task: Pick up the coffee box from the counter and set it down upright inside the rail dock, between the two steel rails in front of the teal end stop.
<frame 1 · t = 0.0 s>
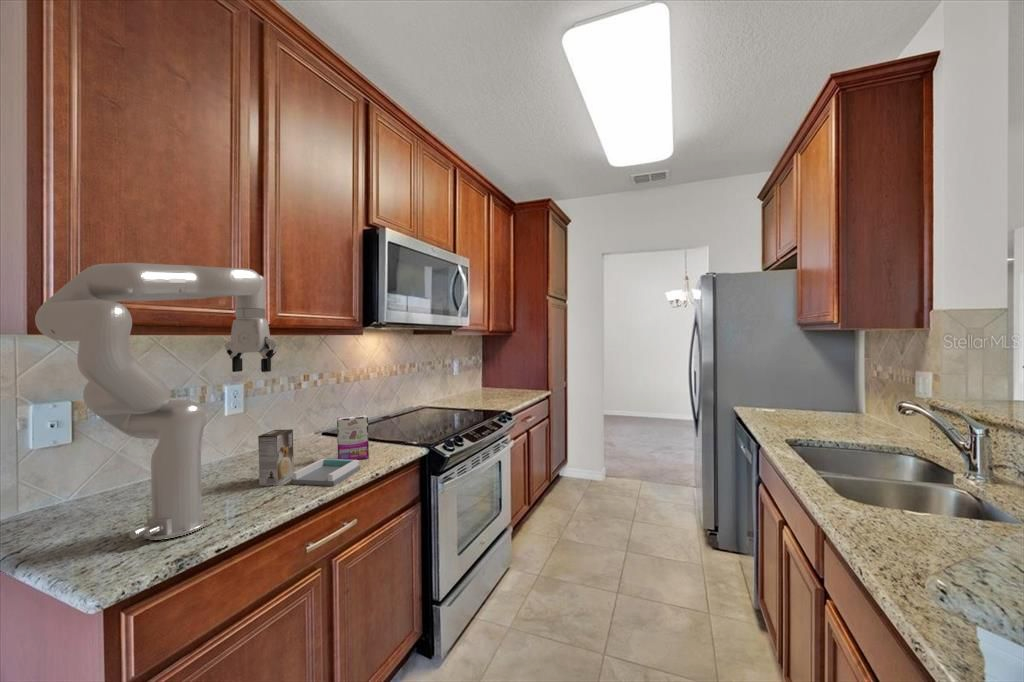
hand: (251, 371, 123), 37 cm above the countertop, tool pointing down, fingers open, 9 cm apart
coffee box: (277, 481, 134), on the countertop
rail dock: (327, 476, 137), on the countertop
candy bar box: (353, 459, 158), on the countertop
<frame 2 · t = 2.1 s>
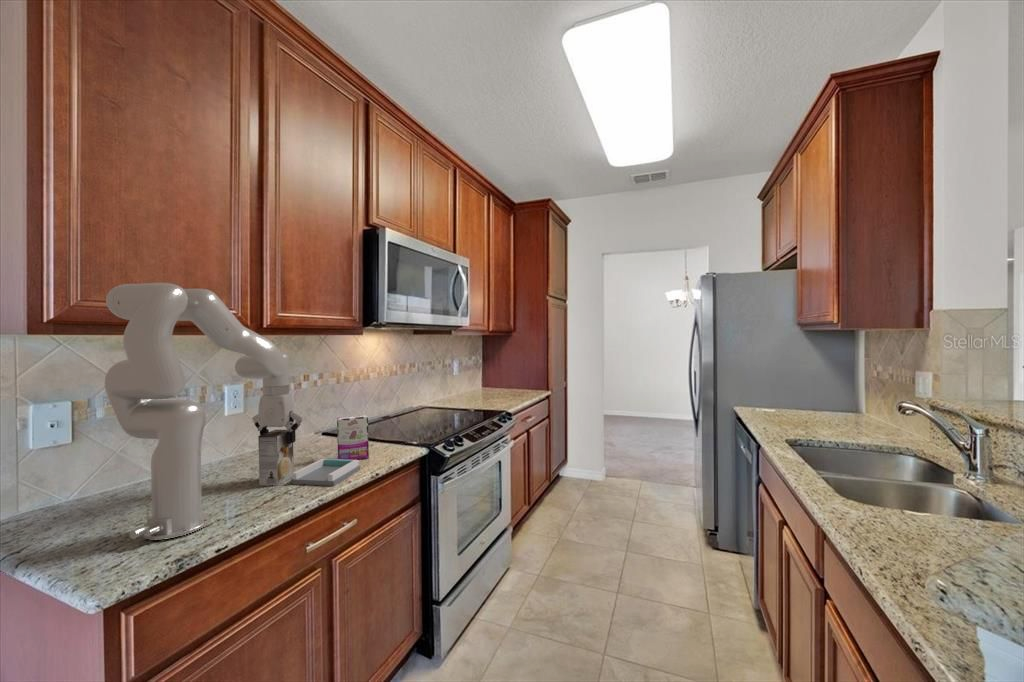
hand: (277, 442, 134), 12 cm above the countertop, tool pointing down, fingers open, 9 cm apart
nothing on the countertop moved.
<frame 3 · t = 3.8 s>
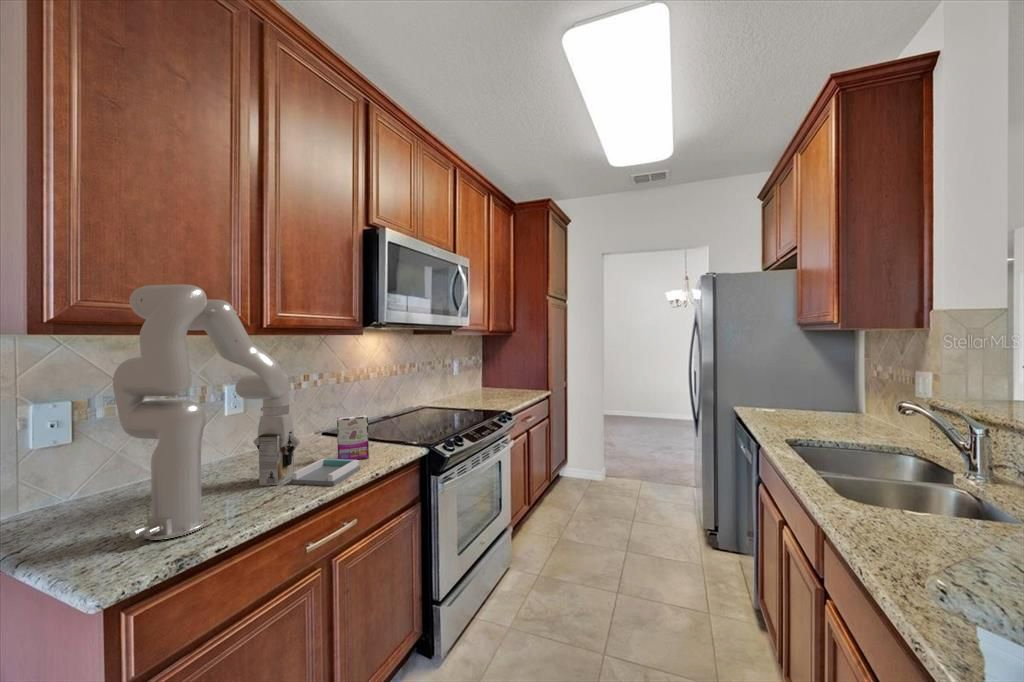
hand: (276, 464, 134), 5 cm above the countertop, tool pointing down, fingers closed on coffee box, 6 cm apart
coffee box: (277, 481, 134), on the countertop, touching gripper
everything else where it was.
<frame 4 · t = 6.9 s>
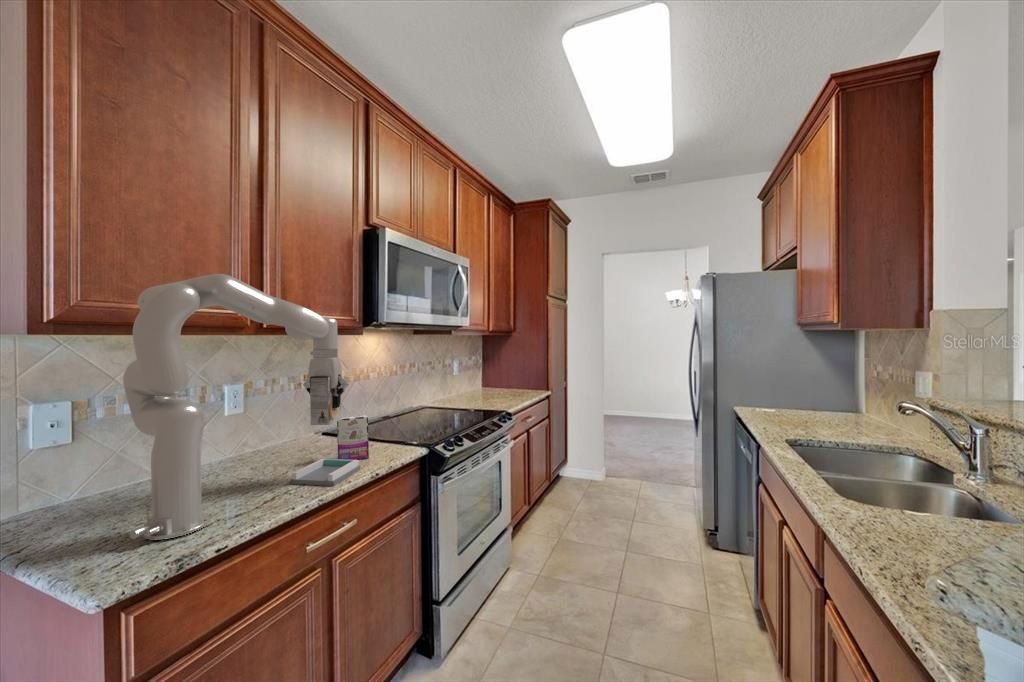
hand: (325, 407, 137), 24 cm above the countertop, tool pointing down, fingers closed on coffee box, 6 cm apart
coffee box: (326, 423, 137), point 18 cm above the countertop, touching gripper
everything else where it was.
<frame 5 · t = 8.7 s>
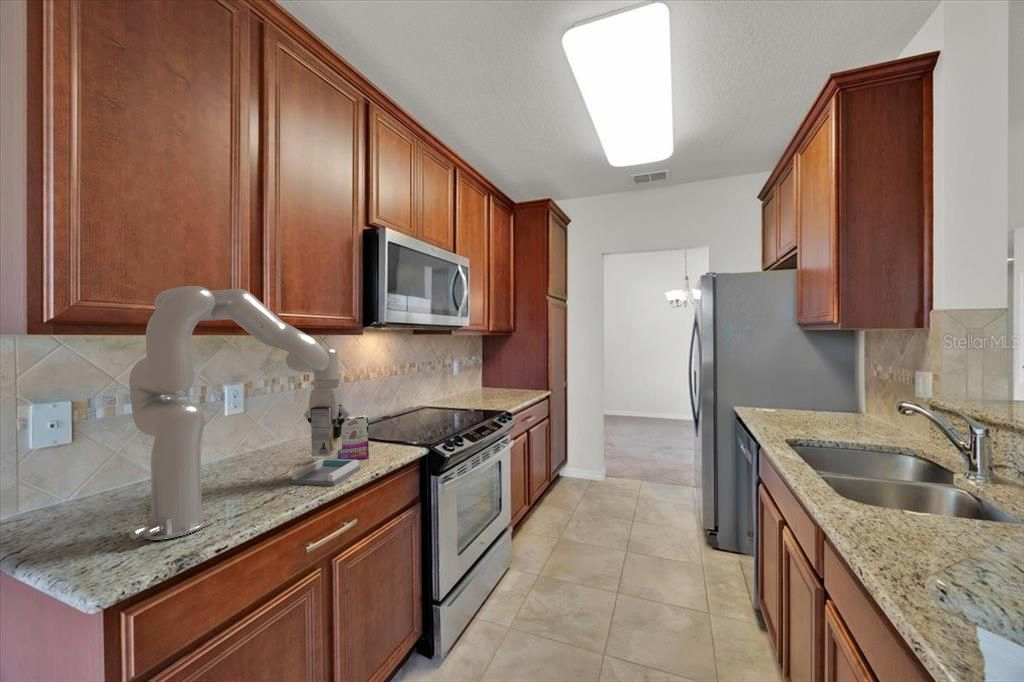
hand: (326, 437, 137), 13 cm above the countertop, tool pointing down, fingers closed on coffee box, 6 cm apart
coffee box: (327, 453, 138), point 8 cm above the countertop, touching gripper
everything else where it was.
when the fingers open (9 cm above the countertop, at t = 10.2 s): coffee box drops 2 cm, resting on rail dock.
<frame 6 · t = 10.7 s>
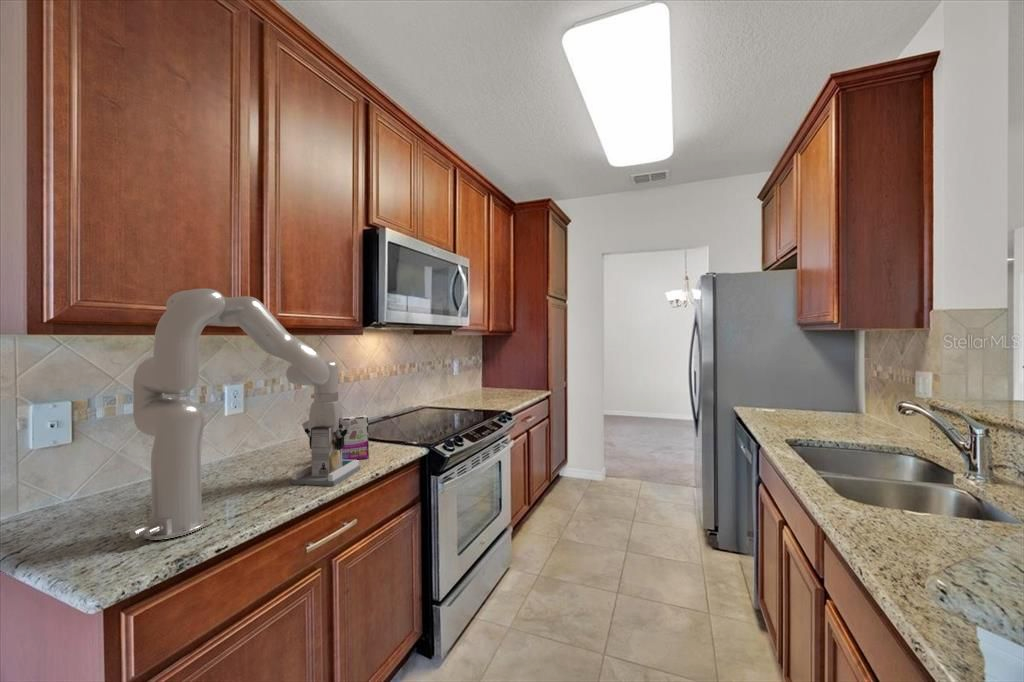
hand: (326, 448, 137), 10 cm above the countertop, tool pointing down, fingers open, 9 cm apart
coffee box: (327, 472, 137), point 1 cm above the countertop, touching rail dock
everything else where it was.
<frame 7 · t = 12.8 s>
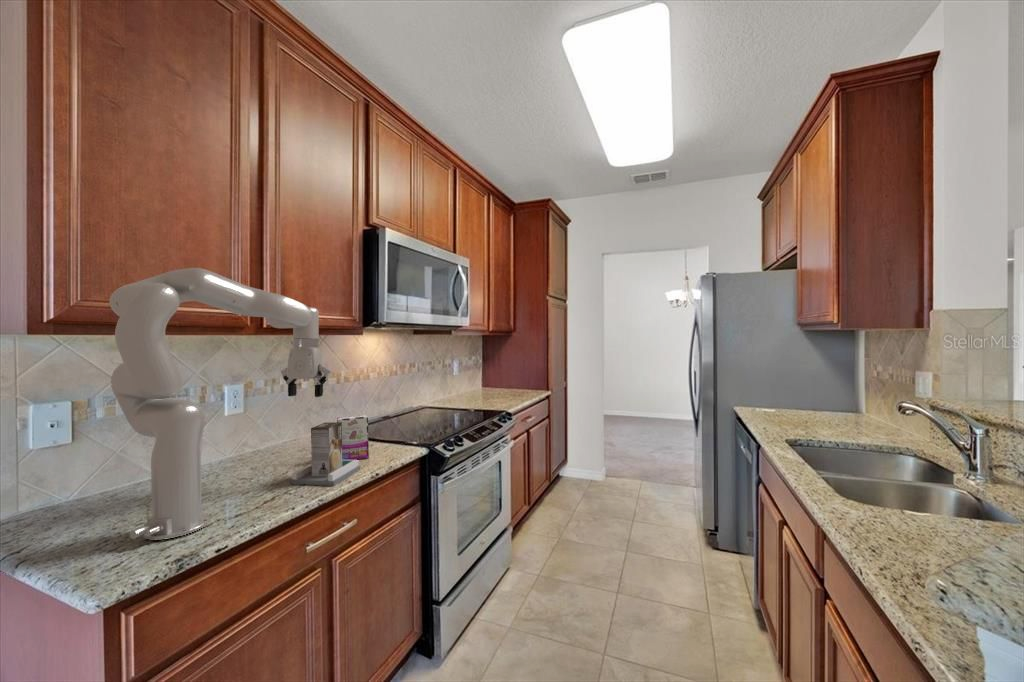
hand: (305, 396, 134), 28 cm above the countertop, tool pointing down, fingers open, 9 cm apart
nothing on the countertop moved.
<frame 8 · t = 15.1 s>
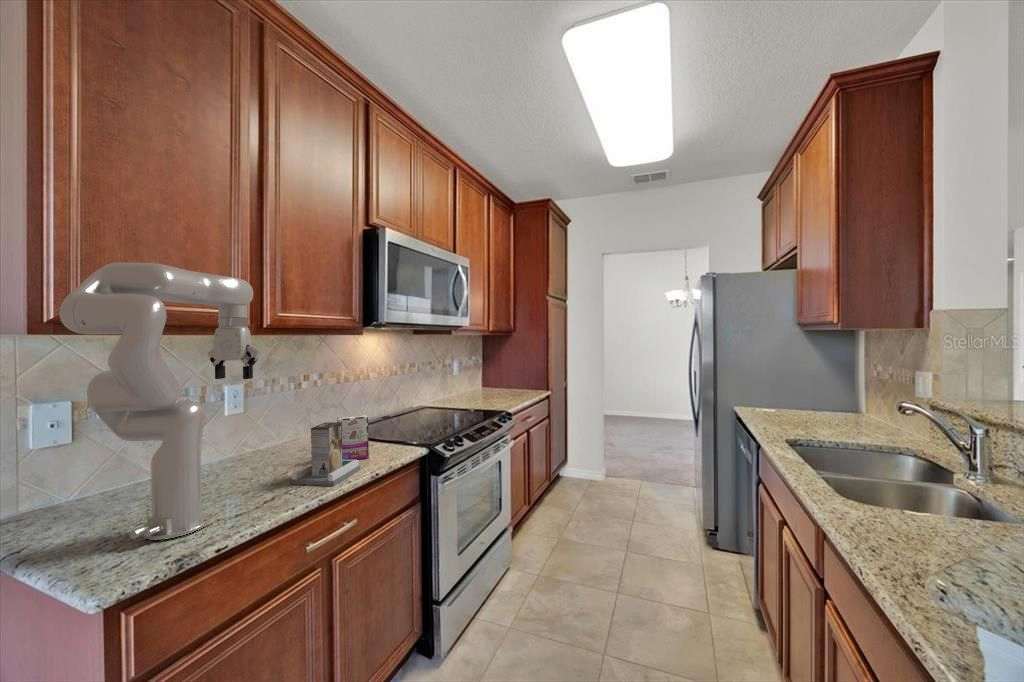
hand: (234, 378, 127), 34 cm above the countertop, tool pointing down, fingers open, 9 cm apart
nothing on the countertop moved.
at the end: coffee box 0.4 cm off-centre on the rail dock, point 1.3 cm above the rail dock's base; coffee box tilted 0°; the gripper is holding nothing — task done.
